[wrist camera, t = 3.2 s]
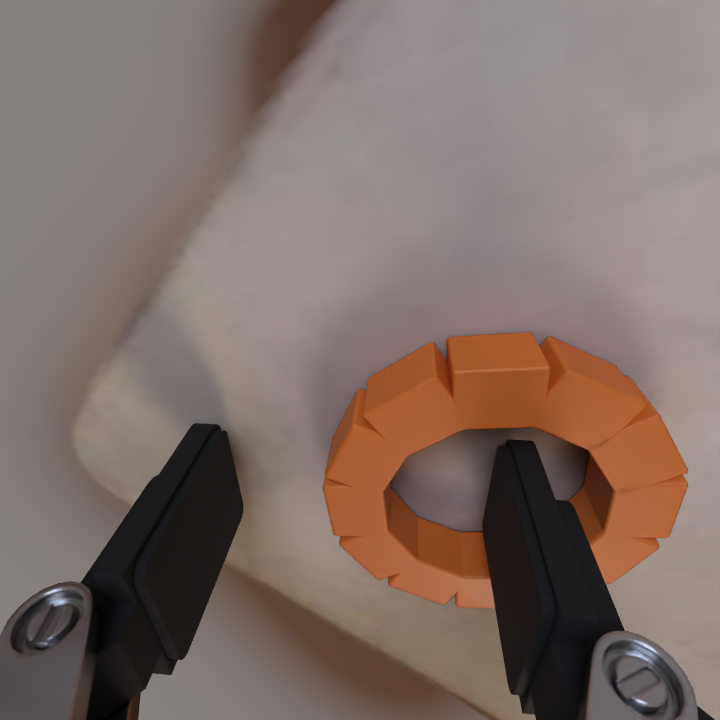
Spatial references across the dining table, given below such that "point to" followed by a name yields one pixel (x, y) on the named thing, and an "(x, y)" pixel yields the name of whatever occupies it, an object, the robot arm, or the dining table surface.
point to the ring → (496, 411)
